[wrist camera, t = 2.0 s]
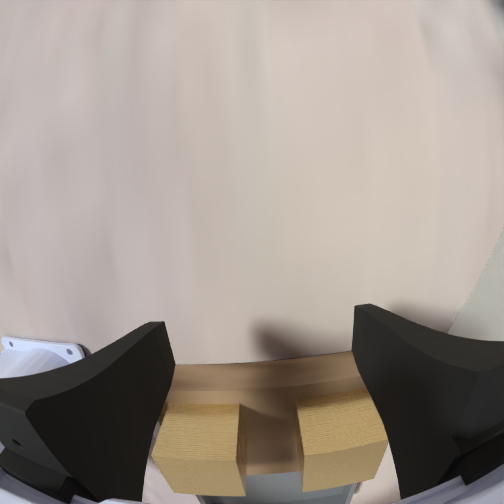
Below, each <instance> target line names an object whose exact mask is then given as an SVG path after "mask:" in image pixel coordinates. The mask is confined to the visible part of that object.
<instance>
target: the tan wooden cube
mask: <svg viewBox="0 0 504 504" xmlns="http://www.w3.org/2000/svg"><path fill="white" fill-rule="evenodd" d="M388 442H389V441H388V438H387V434H386V431H385V428H384V425H383V422H382V420H381V418H380V416H379V414H378V411H377V409H376V407H375V405H374V403H373V401H372V398H371V396H370V394H369V392H368V390H367V388H363V389H358V390H353V391H347V392H342V393H336V394H329V395H323V396H316V397H308V398H300V399H296V447H297V454H298V462H299V470H300V478H301V485H302V492H309V491H316V490H322V489H328V488H334V487H339V486H344V485H349V484H353V483H358V482H362V481H366V480H370V479H374V477H375V475H376V473H377V470H378V468H379V465H380V463H381V460H382V458H383V455H384V453H385V450H386V448H387V445H388Z"/></svg>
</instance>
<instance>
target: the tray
mask: <svg viewBox="0 0 504 504" xmlns="http://www.w3.org/2000/svg"><path fill="white" fill-rule="evenodd" d="M357 484H358V483H353V484H349V485H344V486H339V487H334V488H328V489H322V490H316V491H309V492H302V485H301V478H300V471H297V472H288V473H276V474H260V475H246V496H209V495H196V497H197V498H198V500H199V502H200V503H201V504H350V501H351V499H352V496H353V494H354V491H355V489H356V486H357Z"/></svg>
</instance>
